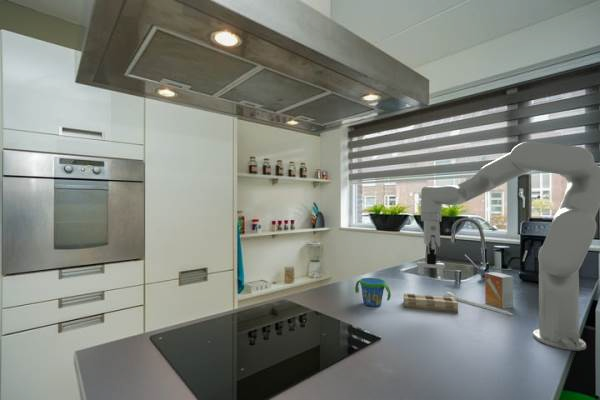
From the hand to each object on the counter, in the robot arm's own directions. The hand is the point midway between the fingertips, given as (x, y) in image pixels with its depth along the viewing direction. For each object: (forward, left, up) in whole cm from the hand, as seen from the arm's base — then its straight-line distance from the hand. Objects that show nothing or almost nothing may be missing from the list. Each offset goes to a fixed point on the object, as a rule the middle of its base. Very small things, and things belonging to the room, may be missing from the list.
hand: (430, 262), depth 118 cm
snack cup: (+3, +23, -20) cm, 30 cm away
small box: (+18, -29, -20) cm, 40 cm away
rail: (+6, 0, -20) cm, 20 cm away
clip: (0, 0, -5) cm, 5 cm away
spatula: (+15, -20, -20) cm, 32 cm away
